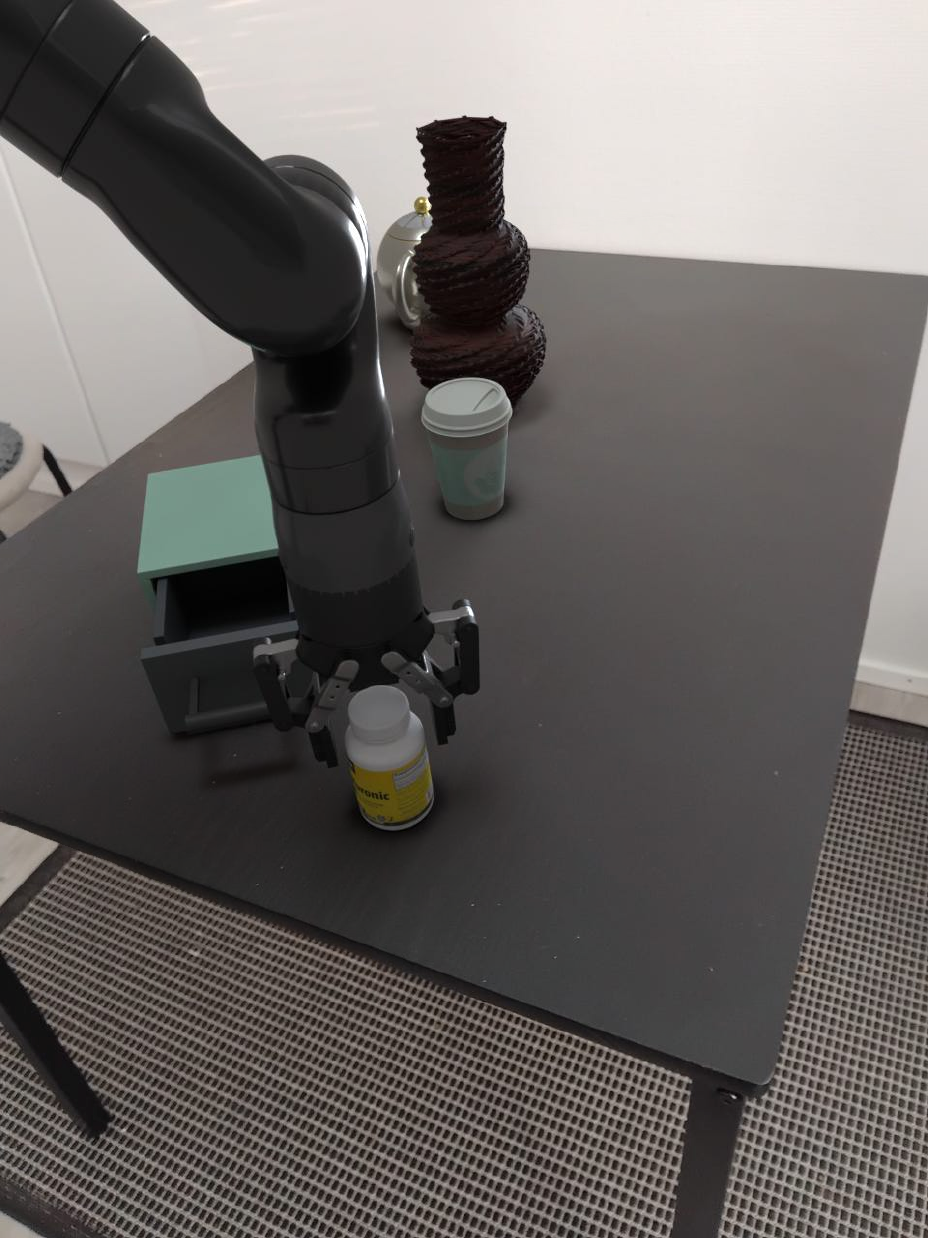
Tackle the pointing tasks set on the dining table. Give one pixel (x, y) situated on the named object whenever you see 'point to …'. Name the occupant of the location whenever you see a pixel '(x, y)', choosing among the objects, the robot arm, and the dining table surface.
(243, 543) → the green drawer cabinet
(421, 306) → the teapot
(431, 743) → the dining table surface
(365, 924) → the dining table surface
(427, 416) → the coffee cup
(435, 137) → the vase
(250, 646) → the grey pull-out drawer
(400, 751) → the supplement bottle
